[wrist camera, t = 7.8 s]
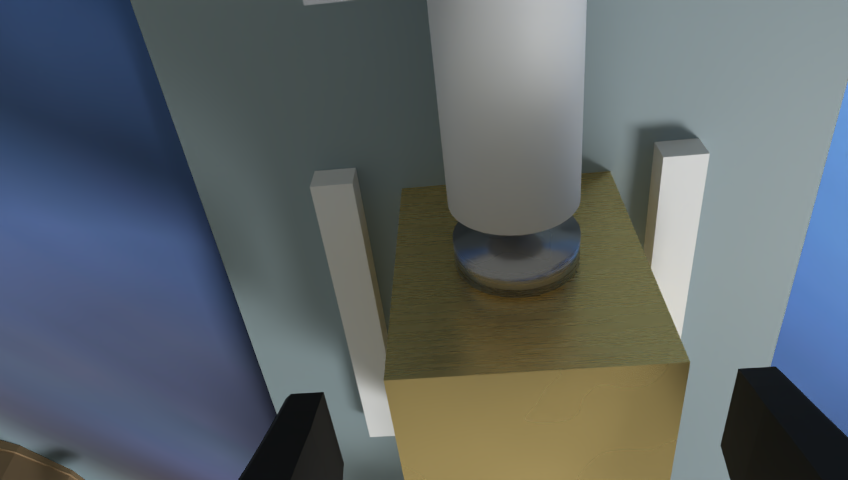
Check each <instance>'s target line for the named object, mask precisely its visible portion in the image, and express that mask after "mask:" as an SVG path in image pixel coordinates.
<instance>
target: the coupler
mask: <svg viewBox="0 0 848 480" xmlns="http://www.w3.org/2000/svg"><path fill="white" fill-rule="evenodd" d="M689 368H690V360H689V358H688V355H687V353H686V350H685V348H684V346H683V343H682V341H681V339H680V336H679V334H678V331H677V329H676V327H675V324H674V322H673V320H672V317H671V315H670V312H669V310H668V308H667V305H666V303H665V301H664V298H663V296H662V293H661V291H660V289H659V286H658V284H657V281H656V279H655V277H654V274H653V272H652V270H651V267H650V265H649V262H648V260H647V258H646V255H645V253H644V251H643V248H642V246H641V243H640V241H639V239H638V236H637V234H636V232H635V229H634V227H633V224H632V222H631V220H630V217H629V215H628V212H627V210H626V208H625V205H624V203H623V201H622V198H621V196H620V193H619V191H618V189H617V186H616V184H615V182H614V179H613V177H612V174H611V172H610V171H605V172H593V173H581V199H580V204H579V207H578V209H577V210H576V212H575V213H574V214H573V215H572V216H571V217H570V218H569V219H568V220H566V221H565V222H563V223H562V224H560V225H558V226H556V227H553V228H551V229H548V230H545V231H541V232H538V233H533V234H526V235H514V236H506V235H494V234H488V233H483V232H480V231H476V230H473V229H471V228H468V227H467V226H465V225H463V224H461V223H460V222H459V221H457V220H456V219H455V218H454V217H453V216H452V214H451V213H450V210H449V208H448V201H447V191H446V185H437V186H425V187H413V188H402V192H401V203H400V213H399V224H398V234H397V245H396V255H395V266H394V277H393V287H392V298H391V308H390V319H389V329H388V340H387V350H386V361H385V371H384V385H385V390H386V395H387V399H388V404H389V409H390V414H391V419H392V423H393V428H394V433H395V438H396V443H397V448H398V452H399V457H400V462H401V467H402V472H403V476H404V480H670V479H671V473H672V467H673V461H674V455H675V450H676V444H677V438H678V432H679V426H680V420H681V415H682V409H683V403H684V397H685V391H686V385H687V379H688V374H689Z"/></svg>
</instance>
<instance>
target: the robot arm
mask: <svg viewBox="0 0 848 480" xmlns="http://www.w3.org/2000/svg"><path fill="white" fill-rule="evenodd" d="M720 446H721V449H722V453H723V456H724V460H725V463H726V467H727V470H728V474H729V477H730V480H848V437H847V436H846V435H845V434H844V433H843V432H842V431H841V430H840V429H839V428H838V427H837V426H836V425H835V424H834V423H833V422H832V421H831V420H829V419H828V418H827V417H826V416H825V415H824V414H823V413H822V412H821V411H820V410H819V409H818V408H817V407H816V406H815V405H814V404H813V403H812V402H811V401H810V400H809V399H808V398H807V397H806V396H805V395H804V394H803V393H802V392H801V391H800V390H799V389H798V388H797V387H796V386H795V385H794V384H793V383H792V382H791V381H790V380H789V379H788V378H787V377H786V376H785V375H784V374H783V373H782V372H781V371H780V370H779V369H778V368H776V367H759V368H741V369H738V372H737V376H736V380H735V385H734V389H733V393H732V398H731V402H730V406H729V411H728V415H727V419H726V423H725V428H724V432H723V436H722V441H721V445H720ZM343 470H344V461H343V458H342V454H341V451H340V448H339V444H338V441H337V437H336V434H335V430H334V427H333V423H332V420H331V416H330V413H329V409H328V406H327V402H326V399H325V395H324V392H315V393H297V394H290V395H289V396H288V397H287V398H286V399H285V401H284V403H283V405H282V407H281V408H280V410H279V412H278V414H277V416H276V417H275V419H274V421H273V423H272V425H271V426H270V428H269V430H268V432H267V433H266V435H265V437H264V438H263V440H262V442H261V444H260V445H259V447H258V449H257V450H256V452H255V454H254V455H253V457H252V459H251V460H250V462H249V464H248V465H247V467H246V468H245V470H244V471H243V473H242V475H241V476H240V478H239V479H238V480H343Z"/></svg>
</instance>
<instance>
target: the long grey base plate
mask: <svg viewBox="0 0 848 480" xmlns="http://www.w3.org/2000/svg"><path fill="white" fill-rule="evenodd" d="M130 1H131V4H132V7H133V10H134V13H135V15H136V18H137V21H138V24H139V27H140V29H141V32H142V35H143V38H144V41H145V44H146V46H147V49H148V52H149V55H150V58H151V61H152V63H153V66H154V69H155V72H156V75H157V77H158V80H159V83H160V86H161V89H162V92H163V94H164V97H165V100H166V103H167V106H168V108H169V111H170V114H171V117H172V120H173V123H174V125H175V128H176V131H177V134H178V137H179V140H180V142H181V145H182V148H183V151H184V154H185V156H186V159H187V162H188V165H189V168H190V171H191V173H192V176H193V179H194V182H195V185H196V187H197V190H198V193H199V196H200V199H201V202H202V204H203V207H204V210H205V213H206V216H207V219H208V221H209V224H210V227H211V230H212V233H213V235H214V238H215V241H216V244H217V247H218V250H219V252H220V255H221V258H222V261H223V264H224V266H225V269H226V272H227V275H228V278H229V281H230V283H231V286H232V289H233V292H234V295H235V298H236V300H237V303H238V306H239V309H240V312H241V314H242V317H243V320H244V323H245V326H246V329H247V331H248V334H249V337H250V340H251V343H252V345H253V348H254V351H255V354H256V357H257V360H258V362H259V365H260V368H261V371H262V374H263V376H264V379H265V382H266V385H267V388H268V391H269V393H270V396H271V399H272V402H273V405H274V408H275V410H276V413H277V414H278V412H279V410H280V408H281V407H282V405H283V403H284V401H285V399H286V398H287V397H288V396H289V395H290V394H297V393H315V392H324V395H325V399H326V402H327V406H328V409H329V413H330V416H331V420H332V423H333V427H334V430H335V434H336V437H337V441H338V444H339V448H340V451H341V454H342V458H343V461H344V470H343V480H404V476H403V472H402V467H401V462H400V457H399V452H398V448H397V443H396V438H395V433H394V428H393V423H392V419H391V414H390V409H389V404H388V399H387V395H386V390H385V385H384V371H385V361H386V350H387V340H388V329H389V319H390V308H391V298H392V287H393V277H394V266H395V255H396V245H397V234H398V224H399V213H400V203H401V192H402V188H413V187H425V186H437V185H446V191H447V201H448V208H449V210H450V213H451V214H452V216H453V217H454V218H455V219H456V220H457V221H459V222H460V223H461V224H463V225H465V226H467V227H468V228H471V229H473V230H476V231H480V232H483V233H488V234H494V235H506V236H514V235H526V234H533V233H538V232H541V231H545V230H548V229H551V228H553V227H556V226H558V225H560V224H562V223H563V222H565V221H566V220H568V219H569V218H570V217H571V216H572V215H573V214H574V213H575V212H576V210H577V209H578V207H579V204H580V199H581V173H593V172H605V171H610V172H611V174H612V177H613V179H614V182H615V184H616V186H617V189H618V191H619V193H620V196H621V198H622V201H623V203H624V205H625V208H626V210H627V212H628V215H629V217H630V220H631V222H632V224H633V227H634V229H635V232H636V234H637V236H638V239H639V241H640V243H641V246H642V248H643V251H644V253H645V255H646V258H647V260H648V262H649V265H650V267H651V270H652V272H653V274H654V277H655V279H656V281H657V284H658V286H659V289H660V291H661V293H662V296H663V298H664V301H665V303H666V305H667V308H668V310H669V312H670V315H671V317H672V320H673V322H674V324H675V327H676V329H677V331H678V334H679V336H680V339H681V341H682V343H683V346H684V348H685V350H686V353H687V355H688V358H689V360H690V368H689V374H688V379H687V385H686V391H685V397H684V403H683V409H682V415H681V420H680V426H679V432H678V438H677V444H676V450H675V455H674V461H673V467H672V473H671V479H670V480H730V477H729V474H728V470H727V467H726V463H725V460H724V456H723V453H722V449H721V446H720V445H721V441H722V436H723V432H724V428H725V423H726V419H727V415H728V411H729V406H730V402H731V398H732V393H733V389H734V385H735V380H736V376H737V372H738V369H741V368H759V367H770V366H771V362H772V358H773V355H774V351H775V347H776V344H777V340H778V336H779V332H780V329H781V325H782V321H783V318H784V314H785V310H786V307H787V303H788V299H789V296H790V292H791V288H792V284H793V281H794V277H795V273H796V270H797V266H798V262H799V259H800V255H801V251H802V248H803V244H804V240H805V236H806V233H807V229H808V225H809V222H810V218H811V214H812V211H813V207H814V203H815V199H816V196H817V192H818V188H819V185H820V181H821V177H822V174H823V170H824V166H825V163H826V159H827V155H828V151H829V148H830V144H831V140H832V137H833V133H834V129H835V126H836V122H837V118H838V115H839V111H840V107H841V103H842V100H843V96H844V92H845V89H846V85H847V81H848V0H130Z"/></svg>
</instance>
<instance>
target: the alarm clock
mask: <svg viewBox="0 0 848 480" xmlns="http://www.w3.org/2000/svg"><path fill="white" fill-rule="evenodd" d="M0 480H85V479H83V478H82V477H81V476H79V475H78V474H77V473H75V472H74V471H73V470H70V469H68V468H66V467H64V466H62V465H60V464H58V463H56V462H53V461H51V460H49V459H47V458H45V457H43V456H41V455H39V454H37V453H34V452H32V451H30V450H28V449H26V448H24V447H22V446H20V445H16V444H13V443H9V442H6V441H2V440H0Z"/></svg>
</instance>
